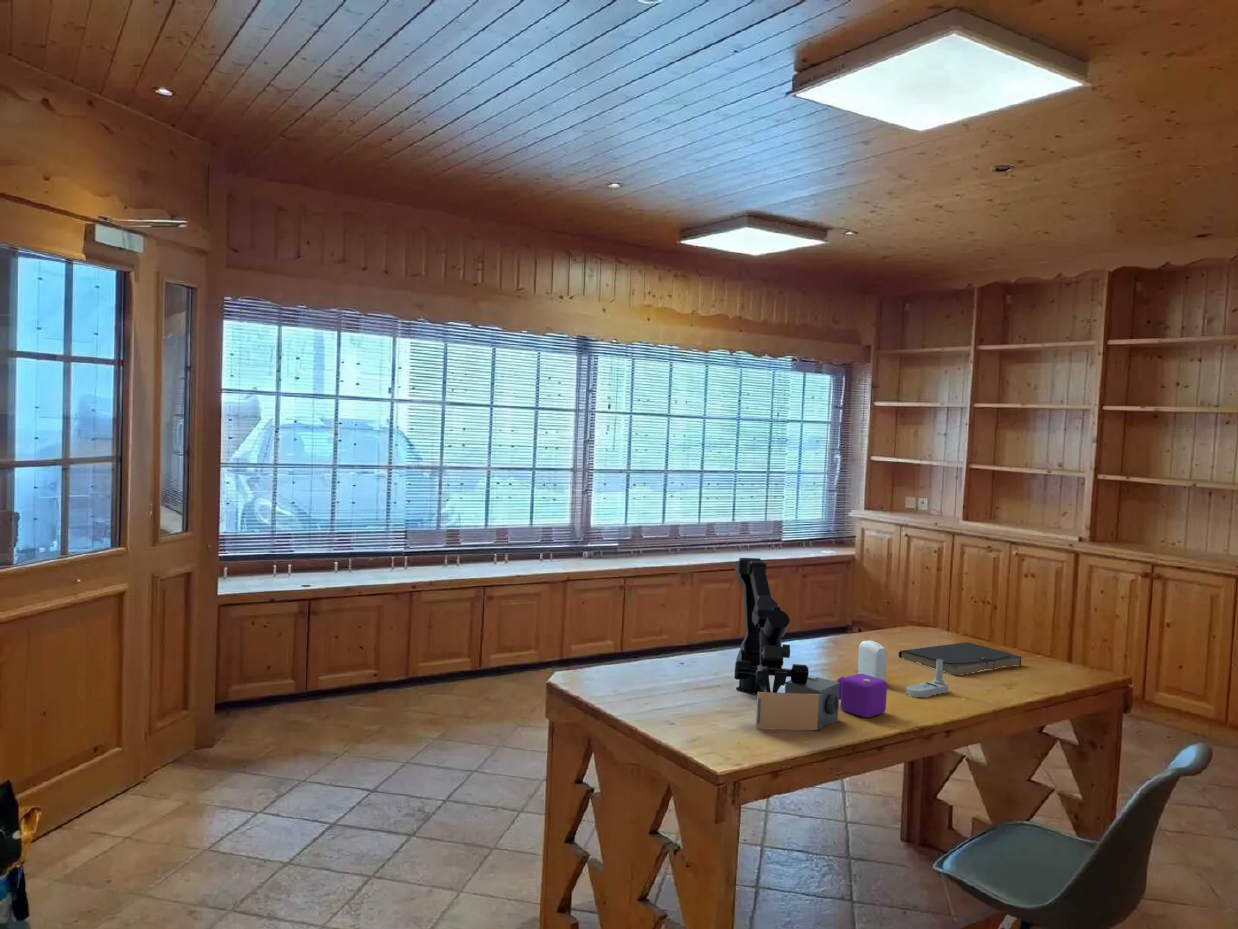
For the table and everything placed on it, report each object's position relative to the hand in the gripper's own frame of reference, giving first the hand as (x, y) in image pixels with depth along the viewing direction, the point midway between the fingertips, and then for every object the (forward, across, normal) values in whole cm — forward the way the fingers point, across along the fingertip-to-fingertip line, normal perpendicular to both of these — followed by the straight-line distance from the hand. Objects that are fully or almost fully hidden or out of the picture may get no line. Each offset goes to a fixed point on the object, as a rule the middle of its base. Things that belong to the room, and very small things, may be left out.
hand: (771, 702), depth 221 cm
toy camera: (-9, +25, +19) cm, 33 cm away
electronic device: (-24, +49, +35) cm, 65 cm away
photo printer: (-31, +34, +40) cm, 61 cm away
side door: (+5, +5, +4) cm, 8 cm away
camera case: (-2, +11, +11) cm, 16 cm away
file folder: (-53, +70, +64) cm, 109 cm away
